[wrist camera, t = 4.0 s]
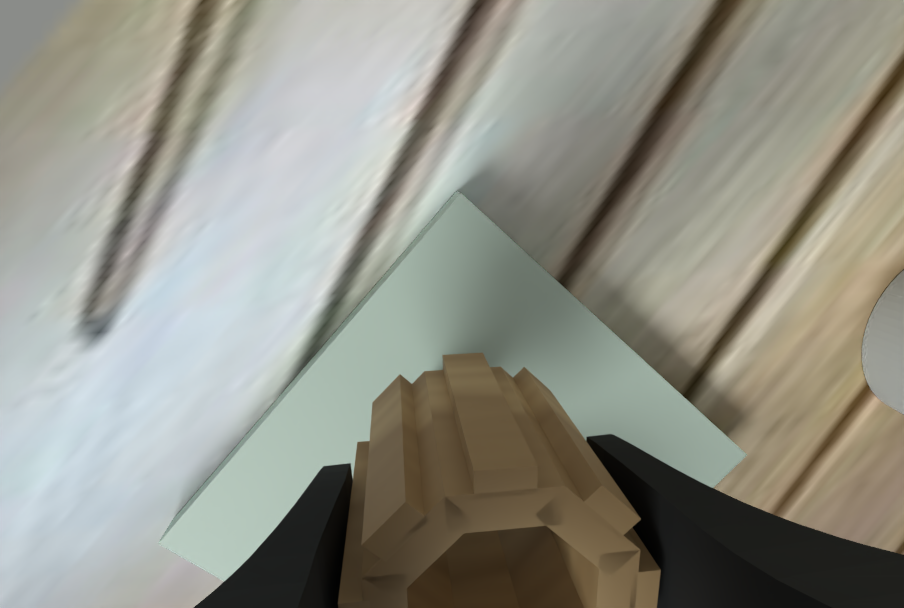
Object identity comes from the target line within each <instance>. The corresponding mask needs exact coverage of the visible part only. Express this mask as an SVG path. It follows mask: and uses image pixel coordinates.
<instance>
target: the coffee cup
mask: <svg viewBox="0 0 904 608" xmlns="http://www.w3.org/2000/svg"><path fill="white" fill-rule="evenodd" d="M862 365H863V371H864V375H865V378H866V380H867V383H868V385H869V387H870V388H871V390H872V391H873V393H874V394H875V395H876V396H877V397H878V398H879V399H880V400H881V401H882V402H883V403H885V404H886V405H888V406H889V407H891V408H893V409H895V410H896V411H898V412H900V413H902V414H903V415H904V270H903V271H902V272H901V273H900V274H899V275H898V276H897V277H896V278H895V279H894V280H893V281H892V282H891V283H890V285H889V286H888V287H887V288H886V290H885V291H884V292H883V294H882V295H881V297H880V298H879V300H878V302H877V304H876V305H875V307H874V309H873V311H872V313H871V316H870V318H869V320H868V323H867V326H866V330H865V333H864V338H863V344H862Z"/></svg>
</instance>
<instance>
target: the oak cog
mask: <svg viewBox="0 0 904 608" xmlns="http://www.w3.org/2000/svg"><path fill="white" fill-rule="evenodd" d="M442 356H443V370H435V371H424V372H423V373H422V374H421V375H420V376H419V377H418V378H417V379H416V380H415V381H414V382H413V383H412V384H411V383H410V382H409V381H408V380H407V379H405V378H404V377H403V376H402V375H401V374H400V375H399V376H398V377H397V378H396V379H395V380H394V381H393V382H392V383H391V384H390V385H389V386H388V387H387V388H386V389H385V390H384V391H383V392H382V393H381V394H380V395H379V396H378V397H377V398H376V399H375V400H374V401H373V402H372V415H371V428H370V441H362V442H357V449H356V457H355V466H354V474H353V482H352V490H351V499H350V507H349V515H348V524H347V532H346V540H345V548H344V557H343V565H342V573H341V582H340V590H339V598H338V608H657V601H658V591H659V582H660V573H661V569H660V568H659V566H658V565H657V563H656V562H655V560H654V559H653V557H652V556H651V554H650V553H649V551H648V550H647V548H646V547H645V545H644V544H643V542H642V541H641V539H640V538H639V536H638V535H637V533H636V532H635V530H634V529H633V526H634V525H635V524H636V523H638V522H639V521H640V520H641V518H640V517H639V515H638V514H637V512H636V511H635V510H634V508H633V507H632V505H631V504H630V503H629V501H628V500H627V498H626V497H625V495H624V494H623V493H622V491H621V490H620V488H619V487H618V485H617V484H616V483H615V481H614V480H613V478H612V477H611V476H610V474H609V473H608V471H607V470H606V468H605V467H604V466H603V464H602V463H601V461H600V460H599V459H598V457H597V456H596V454H595V453H594V451H593V450H592V449H591V447H590V446H589V444H588V443H587V441H586V440H585V439H584V437H583V436H582V434H581V433H580V432H579V430H578V429H577V427H576V426H575V424H574V423H573V422H572V420H571V419H570V417H569V416H568V415H567V413H566V412H565V410H564V409H563V407H562V406H561V405H560V403H559V402H558V400H557V399H556V397H555V396H554V395H553V393H552V392H551V391H550V390H549V389H548V388H547V387H546V386H545V385H544V384H543V383H542V382H541V381H540V380H538V379H537V378H536V377H535V376H534V375H533V374H532V373H531V372H530V371H529V370H527V369H526V368H525V367H523V368H522V369H521V370H520V371H519V372H518V373H517V374H516V375H515V376H514V377H512V376H511V375H509V374H508V373H507V372H506V371H505V370H504V369H503V368H502V367H490V366H489V364H488V362H487V360H486V358H485V356H484V354H483V353H467V354H449V355H442Z"/></svg>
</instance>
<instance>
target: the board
mask: <svg viewBox="0 0 904 608" xmlns="http://www.w3.org/2000/svg"><path fill="white" fill-rule="evenodd" d="M467 353H483V354H484V356H485V358H486V360H487V362H488V364H489V366H490V367H502V368H503V369H504V370H505V371H506V372H507V373H508V374H509V375H511V376H512V377H514V376H515V375H516V374H517V373H518V372H519V371H520V370H521V369H522V368H523V367H525V368H526V369H527V370H529V371H530V372H531V373H532V374H533V375H534V376H535V377H536V378H537V379H538V380H540V381H541V382H542V383H543V384H544V385H545V386H546V387H547V388H548V389H549V390H550V391H551V392H552V393H553V395H554V396H555V397H556V399H557V400H558V402H559V403H560V405H561V406H562V407H563V409H564V410H565V412H566V413H567V415H568V416H569V417H570V419H571V420H572V422H573V423H574V424H575V426H576V427H577V429H578V430H579V432H580V433H581V434H582V436H583V437H584V439H585V440H587V437H588V436H597V435H606V434H613V435H615V436H617V437H619V438H621V439H623V440H625V441H627V442H629V443H630V444H632V445H634V446H636V447H638V448H639V449H641V450H643V451H645V452H646V453H648V454H650V455H652V456H653V457H655V458H657V459H659V460H660V461H662V462H664V463H666V464H668V465H669V466H671V467H673V468H675V469H677V470H678V471H680V472H682V473H684V474H686V475H688V476H690V477H692V478H694V479H695V480H697V481H699V482H701V483H703V484H705V485H707V486H709V487H711V488H713V487H714V486H715V485H717V484H718V483H719V482H720V481H721V480H722V479H723V478H724V477H725V476H726V475H727V474H728V473H729V472H730V471H731V470H732V469H733V468H734V467H735V466H736V465H737V464H738V463H739V462H740V461H741V460H743V459H744V458H745V457H746V456H747V454H746V453H745V452H743V451H742V450H741V449H740V448H739V447H738V446H737V445H736V444H735V443H734V442H733V441H731V440H730V439H729V438H728V437H727V436H726V435H725V434H724V433H723V432H722V431H721V430H719V429H718V428H717V427H716V426H715V425H714V424H713V423H712V422H711V421H710V420H709V419H707V418H706V417H705V416H704V415H703V414H702V413H701V412H700V411H699V410H698V409H697V408H695V407H694V406H693V405H692V404H691V403H690V402H689V401H688V400H687V399H686V398H684V397H683V396H682V395H681V394H680V393H679V392H678V391H677V390H676V389H675V388H674V387H672V386H671V385H670V384H669V383H668V382H667V381H666V380H665V379H664V378H663V377H662V376H660V375H659V374H658V373H657V372H656V371H655V370H654V369H653V368H652V367H651V366H650V365H648V364H647V363H646V362H645V361H644V360H643V359H642V358H641V357H640V356H639V355H638V354H636V353H635V352H634V351H633V350H632V349H631V348H630V347H629V346H628V345H627V344H626V343H624V342H623V341H622V340H621V339H620V338H619V337H618V336H617V335H616V334H615V333H613V332H612V331H611V330H610V329H609V328H608V327H607V326H606V325H605V324H604V323H603V322H601V321H600V320H599V319H598V318H597V317H596V316H595V315H594V314H593V313H592V312H591V311H589V310H588V309H587V308H586V307H585V306H584V305H583V304H582V303H581V302H580V301H579V300H577V299H576V298H575V297H574V296H573V295H572V294H571V293H570V292H569V291H568V290H567V289H565V288H564V287H563V286H562V285H561V284H560V283H559V282H558V281H557V280H556V279H554V278H553V277H552V276H551V275H550V274H549V273H548V272H547V271H546V270H545V269H544V268H542V267H541V266H540V265H539V264H538V263H537V262H536V261H535V260H534V259H533V258H532V257H530V256H529V255H528V254H527V253H526V252H525V251H524V250H523V249H522V248H521V247H520V246H518V245H517V244H516V243H515V242H514V241H513V240H512V239H511V238H510V237H509V236H508V235H506V234H505V233H504V232H503V231H502V230H501V229H500V228H499V227H498V226H497V225H495V224H494V223H493V222H492V221H491V220H490V219H489V218H488V217H487V216H486V215H485V214H483V213H482V212H481V211H480V210H479V209H478V208H477V207H476V206H475V205H474V204H473V203H471V202H470V201H469V200H468V199H467V198H466V197H465V196H464V195H463V194H462V193H460V192H457V191H456V192H455V193H454V195H453V196H452V197H451V198H450V199H449V200H448V201H447V203H446V204H445V205H444V206H443V207H442V208H441V210H440V211H439V212H438V213H437V214H436V215H435V217H434V218H433V219H432V220H431V221H430V222H429V223H428V225H427V226H426V227H425V228H424V229H423V230H422V232H421V233H420V234H419V235H418V236H417V237H416V239H415V240H414V241H413V242H412V243H411V244H410V245H409V247H408V248H407V249H406V250H405V251H404V252H403V254H402V255H401V256H400V257H399V258H398V259H397V261H396V262H395V263H394V264H393V265H392V266H391V267H390V269H389V270H388V271H387V272H386V273H385V274H384V276H383V277H382V278H381V279H380V280H379V281H378V283H377V284H376V285H375V286H374V287H373V288H372V289H371V291H370V292H369V293H368V294H367V295H366V296H365V298H364V299H363V300H362V301H361V302H360V303H359V305H358V306H357V307H356V308H355V309H354V310H353V311H352V313H351V314H350V315H349V316H348V317H347V318H346V320H345V321H344V322H343V323H342V324H341V325H340V327H339V328H338V329H337V330H336V331H335V332H334V333H333V335H332V336H331V337H330V338H329V339H328V340H327V342H326V343H325V344H324V345H323V346H322V347H321V349H320V350H319V351H318V352H317V353H316V354H315V355H314V357H313V358H312V359H311V360H310V361H309V362H308V364H307V365H306V366H305V367H304V368H303V369H302V371H301V372H300V373H299V374H298V375H297V376H296V377H295V379H294V380H293V381H292V382H291V383H290V384H289V386H288V387H287V388H286V389H285V390H284V391H283V393H282V394H281V395H280V396H279V397H278V398H277V400H276V401H275V402H274V403H273V404H272V405H271V406H270V408H269V409H268V410H267V411H266V412H265V413H264V415H263V416H262V417H261V418H260V419H259V420H258V422H257V423H256V424H255V425H254V426H253V427H252V428H251V430H250V431H249V432H248V433H247V434H246V435H245V437H244V438H243V439H242V440H241V441H240V442H239V444H238V445H237V446H236V447H235V448H234V449H233V450H232V452H231V453H230V454H229V455H228V456H227V457H226V459H225V460H224V461H223V462H222V463H221V464H220V466H219V467H218V468H217V469H216V470H215V471H214V472H213V474H212V475H211V476H210V477H209V478H208V479H207V481H206V482H205V483H204V484H203V485H202V486H201V488H200V489H199V490H198V491H197V492H196V493H195V494H194V496H193V497H192V498H191V499H190V500H189V501H188V503H187V504H186V505H185V506H184V507H183V508H182V510H181V511H180V512H179V513H178V514H177V515H176V516H175V518H174V519H173V520H172V522H171V523H170V525H169V527H168V528H167V530H166V531H165V533H164V535H163V536H162V538H161V540H160V541H159V543H158V544H159V545H161V546H162V547H164V548H166V549H168V550H170V551H171V552H173V553H175V554H177V555H178V556H180V557H182V558H184V559H185V560H187V561H189V562H191V563H192V564H194V565H196V566H198V567H200V568H201V569H203V570H205V571H207V572H208V573H210V574H212V575H214V576H215V577H217V578H219V579H221V580H223V581H225V580H227V579H228V578H229V577H230V576H231V575H232V574H233V573H234V572H235V571H236V570H237V569H238V568H239V567H240V566H241V565H242V564H243V563H244V562H245V561H246V560H247V559H248V558H249V557H250V556H251V555H252V554H253V553H254V552H255V551H256V550H257V548H258V547H259V546H260V545H261V544H262V543H263V542H264V541H265V539H266V538H267V537H268V536H269V535H270V534H271V533H272V532H273V530H274V529H275V528H276V527H277V526H278V524H279V523H280V522H281V521H282V519H283V518H284V517H285V516H286V514H287V513H288V512H289V511H290V509H291V508H292V507H293V506H294V504H295V503H296V502H297V500H298V499H299V498H300V496H301V495H302V494H303V492H304V491H305V490H306V488H307V487H308V486H309V484H310V483H311V482H312V480H313V479H314V477H315V476H316V475H317V473H318V472H319V471H320V470H321V468H322V467H323V466H329V465H338V464H347V463H351V470H352V478H353V474H354V466H355V457H356V449H357V442H362V441H370V428H371V415H372V402H373V401H374V400H375V399H376V398H377V397H378V396H379V395H380V394H381V393H382V392H383V391H384V390H385V389H386V388H387V387H388V386H389V385H390V384H391V383H392V382H393V381H394V380H395V379H396V378H397V377H398V376H399V375H400V374H401V375H402V376H403V377H404V378H405V379H407V380H408V381H409V382H410V383H411V384H412V383H413V382H414V381H415V380H416V379H417V378H418V377H419V376H420V375H421V374H422V373H423V372H424V371H435V370H443V356H442V355H449V354H467Z"/></svg>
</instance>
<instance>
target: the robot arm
mask: <svg viewBox="0 0 904 608" xmlns="http://www.w3.org/2000/svg"><path fill="white" fill-rule="evenodd" d="M586 441H587V443H588V444H589V446H590V447H591V449H592V450H593V451H594V453H595V454H596V456H597V457H598V459H599V460H600V461H601V463H602V464H603V466H604V467H605V468H606V470H607V471H608V473H609V474H610V476H611V477H612V478H613V480H614V481H615V483H616V484H617V485H618V487H619V488H620V490H621V491H622V493H623V494H624V495H625V497H626V498H627V500H628V501H629V503H630V504H631V505H632V507H633V508H634V510H635V511H636V512H637V514H638V515H639V517H640V518H641V520H640V521H639V522H638V523H636V524H635V525H634V526H633V529H634V530H635V532H636V533H637V535H638V536H639V538H640V539H641V541H642V542H643V544H644V545H645V547H646V548H647V550H648V551H649V553H650V554H651V556H652V557H653V559H654V560H655V562H656V563H657V565H658V566H659V568H660V569H661V573H660V582H659V591H658V601H657V608H904V555H902V554H898V553H894V552H890V551H886V550H882V549H879V548H875V547H871V546H867V545H863V544H860V543H856V542H853V541H850V540H846V539H843V538H839V537H836V536H833V535H830V534H827V533H824V532H821V531H818V530H815V529H812V528H809V527H806V526H803V525H799V524H797V523H794V522H791V521H788V520H786V519H783V518H780V517H778V516H775V515H773V514H770V513H768V512H765V511H763V510H760V509H758V508H755V507H753V506H751V505H748V504H746V503H743V502H741V501H739V500H737V499H734V498H732V497H730V496H728V495H726V494H724V493H722V492H720V491H718V490H716V489H713V488H711V487H709V486H707V485H705V484H703V483H701V482H699V481H697V480H695V479H694V478H692V477H690V476H688V475H686V474H684V473H682V472H680V471H678V470H677V469H675V468H673V467H671V466H669V465H668V464H666V463H664V462H662V461H660V460H659V459H657V458H655V457H653V456H652V455H650V454H648V453H646V452H645V451H643V450H641V449H639V448H638V447H636V446H634V445H632V444H630V443H629V442H627V441H625V440H623V439H621V438H619V437H617V436H615V435H613V434H606V435H597V436H588V437H587V440H586ZM352 482H353V478H352V470H351V463H347V464H338V465H329V466H323V467H322V468H321V470H320V471H319V472H318V473H317V475H316V476H315V477H314V479H313V480H312V482H311V483H310V484H309V486H308V487H307V488H306V490H305V491H304V492H303V494H302V495H301V496H300V498H299V499H298V500H297V502H296V503H295V504H294V506H293V507H292V508H291V509H290V511H289V512H288V513H287V514H286V516H285V517H284V518H283V519H282V521H281V522H280V523H279V524H278V526H277V527H276V528H275V529H274V530H273V532H272V533H271V534H270V535H269V536H268V537H267V538H266V539H265V541H264V542H263V543H262V544H261V545H260V546H259V547H258V548H257V550H256V551H255V552H254V553H253V554H252V555H251V556H250V557H249V558H248V559H247V560H246V561H245V562H244V563H243V564H242V565H241V566H240V567H239V568H238V569H237V570H236V571H235V572H234V573H233V574H232V575H231V576H230V577H229V578H228V579H227V580H225V581H224V582H223V583H222V584H221V585H220V586H219V587H218V588H217V589H216V590H214V591H213V592H212V593H211V594H210V595H209V596H207V597H206V598H205V599H204V600H202V601H201V602H200V603H199V604H198V605H196V606H195V607H194V608H338V598H339V590H340V582H341V573H342V565H343V557H344V548H345V540H346V532H347V524H348V515H349V507H350V499H351V490H352Z"/></svg>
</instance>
